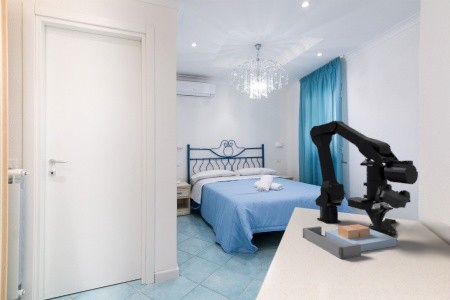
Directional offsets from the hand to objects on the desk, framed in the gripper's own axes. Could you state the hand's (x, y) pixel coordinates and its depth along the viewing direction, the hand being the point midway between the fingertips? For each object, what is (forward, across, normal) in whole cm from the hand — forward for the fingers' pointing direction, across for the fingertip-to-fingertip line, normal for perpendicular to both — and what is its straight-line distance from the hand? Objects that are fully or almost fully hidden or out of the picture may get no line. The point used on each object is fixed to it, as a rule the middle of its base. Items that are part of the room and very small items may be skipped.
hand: (377, 228), depth 74 cm
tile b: (+1, -12, 0) cm, 12 cm away
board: (+3, -8, 0) cm, 8 cm away
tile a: (+1, -8, 0) cm, 8 cm away
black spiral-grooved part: (+4, +13, +7) cm, 15 cm away
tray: (+3, -19, 0) cm, 19 cm away
